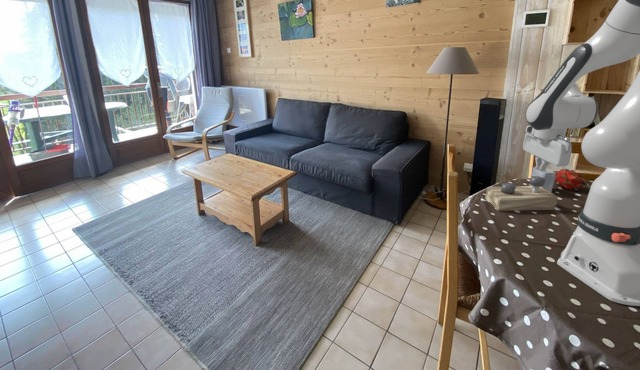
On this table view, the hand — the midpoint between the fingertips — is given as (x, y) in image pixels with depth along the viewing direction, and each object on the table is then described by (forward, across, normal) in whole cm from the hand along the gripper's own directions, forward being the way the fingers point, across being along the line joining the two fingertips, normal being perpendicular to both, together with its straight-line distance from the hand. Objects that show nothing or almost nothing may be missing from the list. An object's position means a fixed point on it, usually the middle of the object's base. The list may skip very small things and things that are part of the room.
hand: (540, 170), depth 114 cm
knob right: (+10, 0, 0) cm, 10 cm away
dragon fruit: (+14, +14, -23) cm, 30 cm away
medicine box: (+14, +13, -11) cm, 22 cm away
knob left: (+13, 0, +10) cm, 16 cm away
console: (+13, 0, +5) cm, 14 cm away
